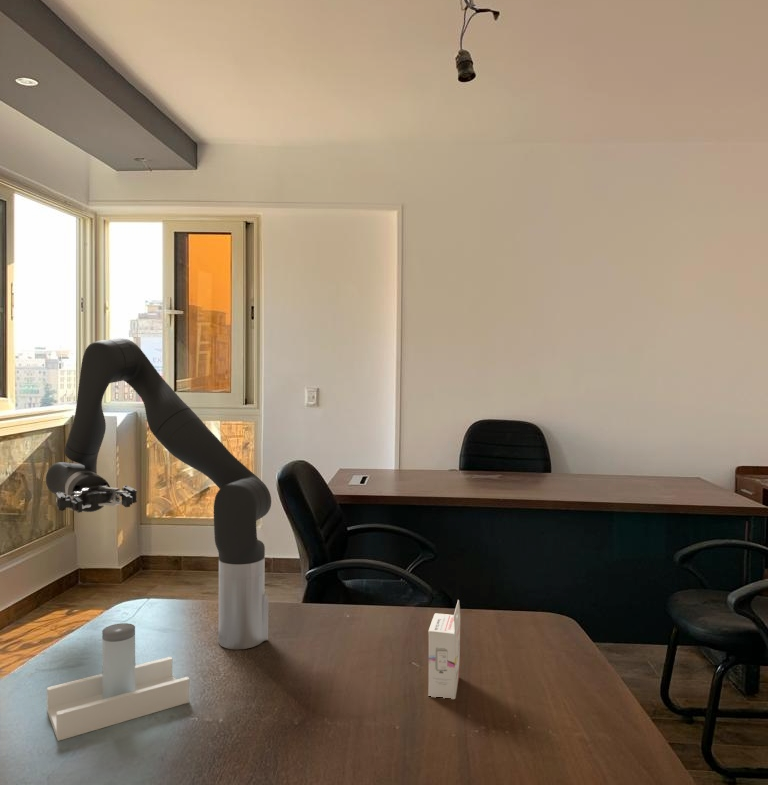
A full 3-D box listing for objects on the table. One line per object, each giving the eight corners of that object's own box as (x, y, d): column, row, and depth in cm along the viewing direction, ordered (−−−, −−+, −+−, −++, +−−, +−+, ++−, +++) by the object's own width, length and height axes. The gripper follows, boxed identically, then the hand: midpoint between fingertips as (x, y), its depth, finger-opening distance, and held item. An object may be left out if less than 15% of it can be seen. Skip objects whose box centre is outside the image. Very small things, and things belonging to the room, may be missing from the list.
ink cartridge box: (432, 674, 120) (434, 596, 119) (459, 677, 119) (461, 598, 118) (426, 697, 111) (428, 613, 111) (455, 700, 110) (457, 616, 110)
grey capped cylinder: (130, 690, 110) (130, 620, 110) (138, 702, 106) (138, 631, 106) (99, 698, 107) (99, 627, 107) (106, 711, 103) (106, 638, 103)
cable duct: (170, 678, 117) (170, 656, 117) (189, 702, 109) (189, 678, 108) (47, 711, 105) (46, 687, 105) (57, 741, 97) (57, 714, 97)
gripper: (49, 475, 131) (63, 488, 118) (122, 469, 139) (143, 481, 126) (49, 512, 131) (63, 529, 118) (122, 504, 140) (143, 519, 127)
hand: (104, 504), depth 122 cm, fingers open, 8 cm apart
